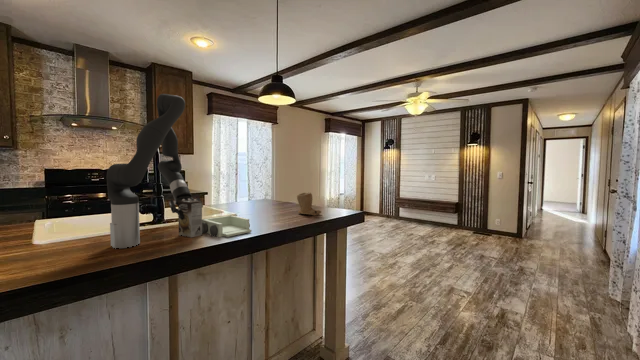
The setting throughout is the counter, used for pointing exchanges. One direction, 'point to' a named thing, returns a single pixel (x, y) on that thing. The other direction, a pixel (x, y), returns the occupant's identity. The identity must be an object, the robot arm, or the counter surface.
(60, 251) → the counter surface
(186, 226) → the coffee box
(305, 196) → the brown boot
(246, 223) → the cart bed
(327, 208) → the counter surface
